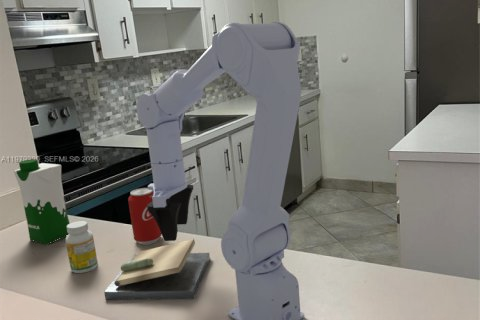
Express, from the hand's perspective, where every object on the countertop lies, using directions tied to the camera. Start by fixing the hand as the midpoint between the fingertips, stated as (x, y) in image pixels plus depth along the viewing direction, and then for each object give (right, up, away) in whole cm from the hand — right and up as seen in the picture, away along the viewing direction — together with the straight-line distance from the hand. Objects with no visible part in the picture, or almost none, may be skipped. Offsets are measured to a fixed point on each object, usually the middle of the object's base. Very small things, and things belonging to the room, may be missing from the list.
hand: (176, 231), depth 83 cm
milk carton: (-35, -6, +29) cm, 46 cm away
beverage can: (-9, -6, +21) cm, 24 cm away
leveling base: (-3, -9, +3) cm, 10 cm away
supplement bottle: (-20, -9, +10) cm, 24 cm away
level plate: (-4, -6, +2) cm, 8 cm away
